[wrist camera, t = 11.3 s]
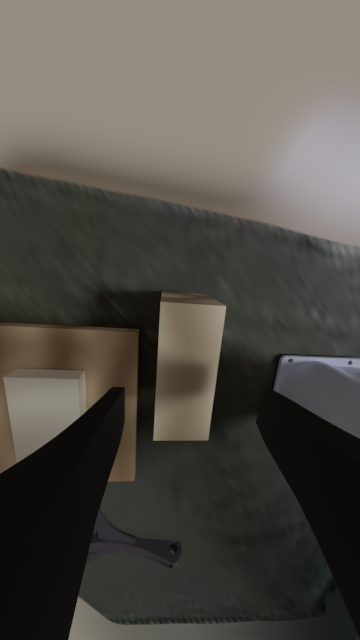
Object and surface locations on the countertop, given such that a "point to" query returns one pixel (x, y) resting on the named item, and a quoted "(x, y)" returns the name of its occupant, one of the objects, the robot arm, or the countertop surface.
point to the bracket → (131, 545)
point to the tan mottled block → (187, 365)
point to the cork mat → (75, 354)
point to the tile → (42, 405)
